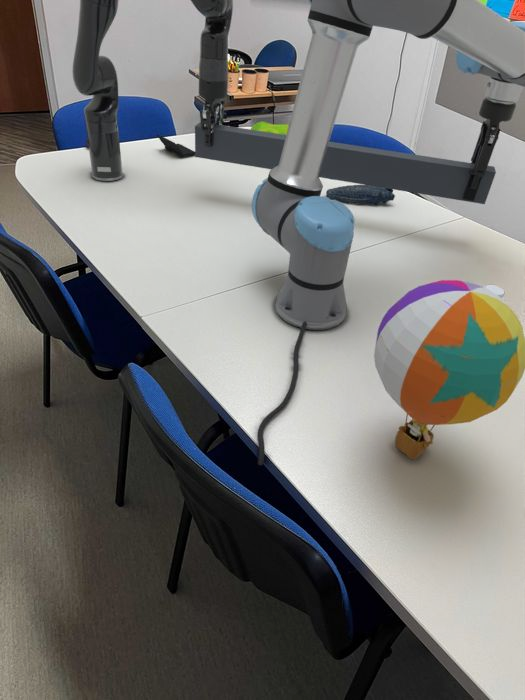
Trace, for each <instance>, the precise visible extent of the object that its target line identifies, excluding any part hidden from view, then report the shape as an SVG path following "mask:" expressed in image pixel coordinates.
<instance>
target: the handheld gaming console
mask: <svg viewBox="0 0 525 700" xmlns="http://www.w3.org/2000/svg"><path fill="white" fill-rule="evenodd" d="M156 136H157V138H158V139H159V141H160V142H161V143H162V144H163V146H164V149H165V150H167V151H168V152H171V153H173V154H175V155H177V156H179V157H181V158H187V157H191V156H192V157H193V156H195V150H193V149H190V148H188V147H186V146H184V145H183V144H180V143H176V142H174V141H172V140H170V139H168V138H166V137H164V136H162V135H160V134H158V133H157V134H156Z"/></svg>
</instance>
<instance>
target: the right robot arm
mask: <svg viewBox="0 0 525 700" xmlns="http://www.w3.org/2000/svg"><path fill="white" fill-rule="evenodd" d="M308 2H309V4H310V7H309V12H308V15H307V23H308V25H309V28H310V30H311V33H312V34H311V38H310V41H309V46H308V50H307V54H306V57H305V61H304V66H303V69H302V73H301V76H300V80H299V84H298V87H297V92H296V97H295V100H294V103H293V108H292V111H291V116H290V119H289V123H288V125H289V127H288V131H287V134H286V138H285V142H284V146H283V150H282V154H281V158H280V161H279V165H278V166H276V167H275V168H273V169H269V172H268V175H267V176H268V177H267V178H265V179H264V180H262V183H261V184H258V186H257V187H256V188H255V190H254V192H253V195H252V200H251V212H252V216H253V218H254V220H255V222H256V223H257V224H258V226H259V227H260V228H261V230H262V231H263V232H264V233H265V234H266V235H268V236H270V237H271V238H272V239H273V240H274V241H276V243H277V244H278V245H280V246H281V247H282V248H283V249H284V250H286V252H288V253H289V262H288V263H289V264H288V270H287V271H288V272H287V275H286V278H285V279H284V282H283V283H282V285H281V287H280V290H279V291H278V294H277V296H276V300H275V311H276V313H277V315H278V316H279V317H280V318H281V319H282V320H283V321H284V322H286V323H287V324H289V325H291V326H293V327H296V328H300V331H299V333H298V337H297V340H296V342H295V345H294V350H293V371H292V376H291V380H290V381H291V382H290V384H289V388H288V390H287V393H286V394H285V397H284V399H283V400H282V401H281V402H280V404H279V405H278V406H277V407H276V408H275V409H273V410H272V411H271V412H270V413H268V414H267V415H266V416H265V417H264V419H263V420H262V421H261V422H260V425H259V426H258V429H257V445H258V457H257V464H258V466H263V465H264V460H265V451H266V450H265V441H264V440H265V439H264V431H265V430H266V429H265V428H266V427H267V425H268V424H269V422H270V421H271V420H272V419H273V418H274V417H275V416H277V415H278V414H279V413H281V411H283V409H285V408H286V406H287V405H288V403H289V402H290V401H291V398H292V396H293V394H294V391H295V388H296V385H297V380H298V376H299V354H300V348H301V344H302V342H303V339H304V335H305V332H306V330H310V331H324V330H325V331H326V330H329V329H333V328H336V327H337V326H339V325H340V324H342V323H343V322H344V320H345V318H346V315H347V310H348V305H347V297H346V292H345V286H344V280H345V275H346V272H347V267H348V262H349V257H350V254H351V249H352V244H353V240H354V236H355V233H354V231H355V217H354V214H353V212H352V211H351V210H350V208H349V207H348V206H346V205H345V204H344V203H343V202H342V201H340V200H337V199H331V198H330V197H327V196H322V195H321V194H322V192H323V188H324V185H323V183H322V181H321V178H320V177H319V173H320V170H321V166H322V163H323V160H324V156H325V153H326V150H327V146H328V143H329V142H330V140H331V136H332V133H333V129H334V127H335V123H336V120H337V116H338V113H339V110H340V107H341V104H342V101H343V97H344V94H345V90H346V87H347V84H348V80H349V77H350V74H351V71H352V67H353V64H354V60H355V57H356V54H357V50H358V48H359V46H361V45H362V44H363V43H365V42H367V41H368V40H369V39H370V37H371V34H372V31H373V28H374V27H379V28H383V29H384V28H385V29H389V30H395V31H400V32H402V33H407V34H409V35H411V36H414V37H416V38H417V39H421V40H428V39H430V38H433V39H434V40H436V41H439V42H440V43H442V44H444V45H445V46H447V47H449V48H451V49H453V50H454V51H456V53H455V64H456V67H457V69H458V70H459V71H460V72H461V73H463V74H469V75H477V74H478V75H483V76H487V77H489V78H490V79H489V81H487V82H485V84H484V85H485V87H486V90H485V93H484V96H485V98H484V99H482V102H481V105H480V108H479V112H478V115H479V116H480V117H481V118H483V119H485V120H483V122H482V123H481V127H480V132H479V135H478V138H477V141H476V145H475V147H474V150H473V153H472V156H471V158H470V163H474V164H475V166H474V169H473V171H472V172H469V174H470V178H469V181H468V184H467V187H466V190H465V193H464V196H463V199H465V200H471V201H474V199H475V196H476V193H477V190H478V187H479V184H480V181H481V179H482V176H484V175H485V172H486V169H487V166H489V163H490V160H491V158H492V155H493V152H494V149H495V146H496V144H497V142H498V140H499V135H500V133H501V128H500V123H503V122H505V123H506V122H509V121H511V120H512V118H513V115H514V113H515V110H516V107H517V104H516V103H517V102H519V99H520V97H521V94H522V91H523V89H524V88H525V22H524V21H515V20H514V21H509V20H508V19H506V18H505V17H503V16H502V15H500V14H499V13H497V12H496V11H495V10H493V9H491V8H490V7H488V6H487V5H485V4H484V3H482V2H481V1H479V0H308Z"/></svg>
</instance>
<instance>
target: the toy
mask: <svg viewBox="0 0 525 700" xmlns="http://www.w3.org/2000/svg"><path fill="white" fill-rule="evenodd" d="M373 358H374V359H373V360H374V367H375V369H376V371H377V374H378V376H379V379H380V381H381V383H382V385H383V388H384V390H385V392H386V393H387V394H388V395H389V396H390V398H391V399H392V400H393V401H394V402H395V404H396V405H397V406H398V407H400V408H401V409H402V410H403V411H404V412H405V413H406V417H405V422H404V425H400V426H398V431H397V432H396V435H395V440H394V446H395V447H396V449H398V450H399V451H400V452H401V453H402V454H404V455H406V456H407V457H408V458H409V459H410V460H416V459H417V458H418V457H419V456H421V454H423V453H424V452H425V451H427V449H428V448H429V447H430V445H433V443H434V442H433V440H434V438H435V437H434V433H433V432H432V430H433V429H434V427H435V426H444V425H445V426H446V425H458V424H466V423H472V422H474V421H475V420H478V419H480V418H482V417H484V416H486V415H489V414H491V413H493V412H495V411H497V410H498V409H500V408H501V407H502V406H503V405H504V404H506V403H507V402H508V400H509V399H510V397H511V396H512V394H513V393H514V391H515V390H516V388H517V387H518V385H519V383H520V382H521V380H522V379H523V376H524V373H525V334H524V329H523V325H522V323H521V321H520V319H519V317H518V315H517V313H516V312H515V311H513V309H512V308H511V307H510V305H508V304H507V302H506V301H505V300H504V299H503V297H502V298H501V297H500V296H498V295H496V294H495V293H493V292H492V291H490V290H489V289H486V288H485V286H482V285H479V284H476V283H474V282H470V281H465V280H458V279H456V280H455V279H442V280H436V281H433V282H430V283H429V282H428V283H426V284H422V285H419V286H417V287H414V288H413V289H410V290H409V291H408V292H407V293H405V294H404V295H403V296H402V297H401V298H400V299H398V300H397V301H396V302H395V303H394V304H393V305H392V306H391V307H389V309H388V310H387V311H386V313H385V314H384V316H383V317H382V319H381V321H380V324H379V326H378V329H377V335H376V340H375V347H374V353H373ZM408 417H410V418H411V420H410V421H409V422H408ZM428 426H432V427H431V428H430V429H428Z"/></svg>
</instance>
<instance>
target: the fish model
mask: <svg viewBox="0 0 525 700" xmlns="http://www.w3.org/2000/svg"><path fill="white" fill-rule="evenodd" d="M325 194H326V195H325V197H328V198H330V199H332V200H337V201H340V202H346V203H356V204H369V205H373V206H374V205H375V206H376V205H378V204H381V203H382V204H383V205H386V204H387V203H388V202H390V201H392V202H393V201H394V200H395V197H396V195H395V194H394V189H388V188H382V187H376V186H370V185H363V184H352V185H342V186H337V187H332V188H328V189H327V190H326V191H325Z"/></svg>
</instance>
